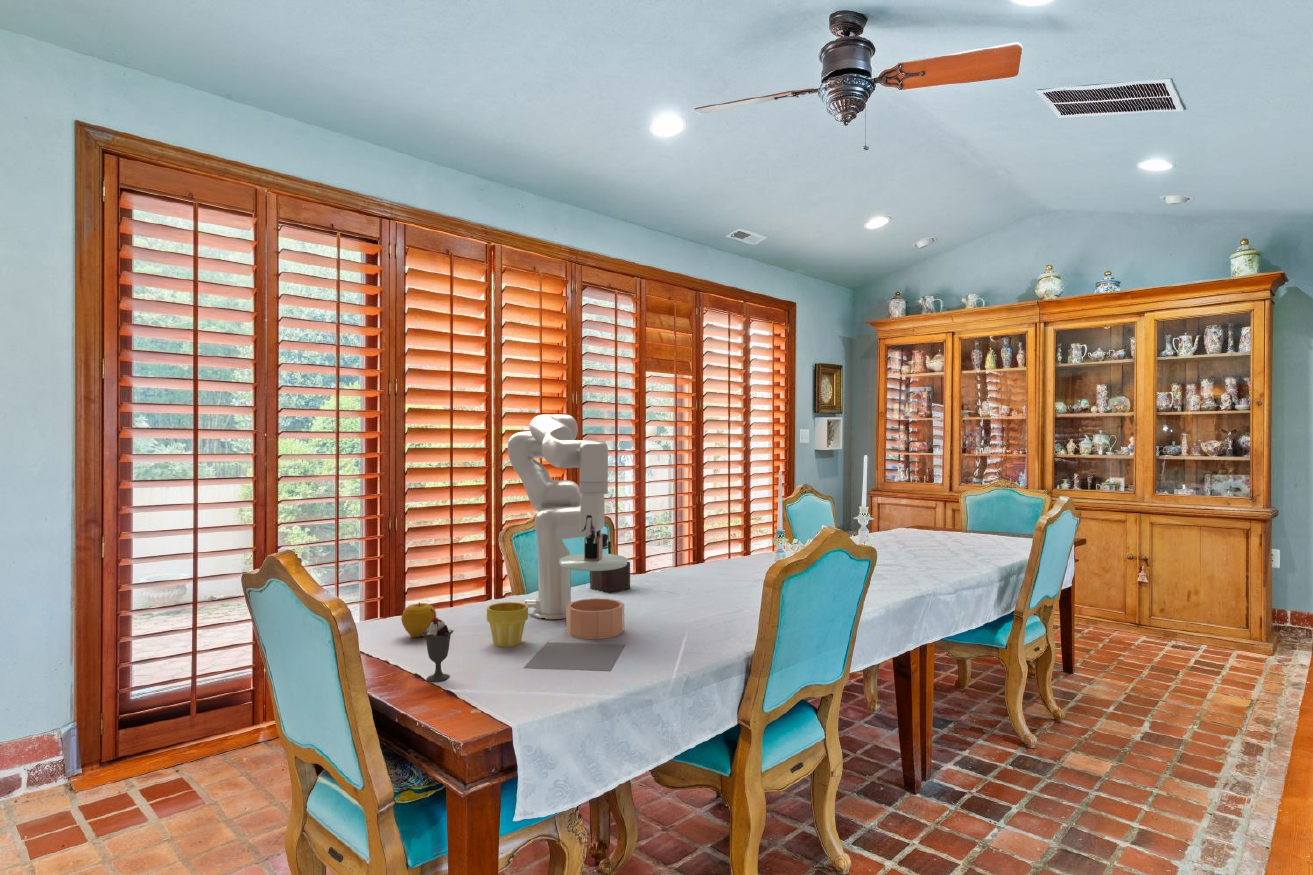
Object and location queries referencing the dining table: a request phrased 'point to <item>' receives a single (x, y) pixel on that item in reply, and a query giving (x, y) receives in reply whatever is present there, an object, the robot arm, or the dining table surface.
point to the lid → (593, 560)
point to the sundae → (437, 646)
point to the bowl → (595, 618)
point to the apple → (417, 618)
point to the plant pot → (507, 622)
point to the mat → (576, 656)
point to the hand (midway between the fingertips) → (593, 555)
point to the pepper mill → (610, 575)
